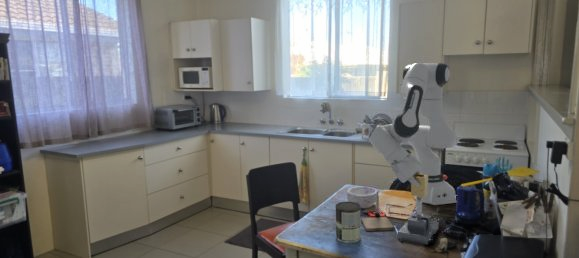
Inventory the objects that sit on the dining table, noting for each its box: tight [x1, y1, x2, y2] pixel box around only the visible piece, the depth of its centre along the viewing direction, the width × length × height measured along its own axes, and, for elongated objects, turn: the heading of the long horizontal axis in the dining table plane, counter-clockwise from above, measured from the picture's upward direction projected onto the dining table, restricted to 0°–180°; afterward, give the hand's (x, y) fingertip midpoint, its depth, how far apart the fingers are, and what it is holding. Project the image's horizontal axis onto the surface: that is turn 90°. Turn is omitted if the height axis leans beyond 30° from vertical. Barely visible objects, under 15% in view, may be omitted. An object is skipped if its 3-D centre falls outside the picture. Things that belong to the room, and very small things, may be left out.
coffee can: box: [335, 201, 362, 244], centre depth 170 cm, size 10×10×14 cm
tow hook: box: [367, 190, 387, 218], centre depth 195 cm, size 8×13×9 cm
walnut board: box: [360, 216, 395, 232], centre depth 184 cm, size 12×12×1 cm
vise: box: [397, 196, 440, 246], centre depth 172 cm, size 18×12×16 cm, turn 147°
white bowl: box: [346, 186, 378, 209], centre depth 209 cm, size 15×15×8 cm
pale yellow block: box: [410, 173, 428, 197], centre depth 170 cm, size 5×5×8 cm
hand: (421, 183), depth 170 cm, fingers closed on pale yellow block, 5 cm apart
